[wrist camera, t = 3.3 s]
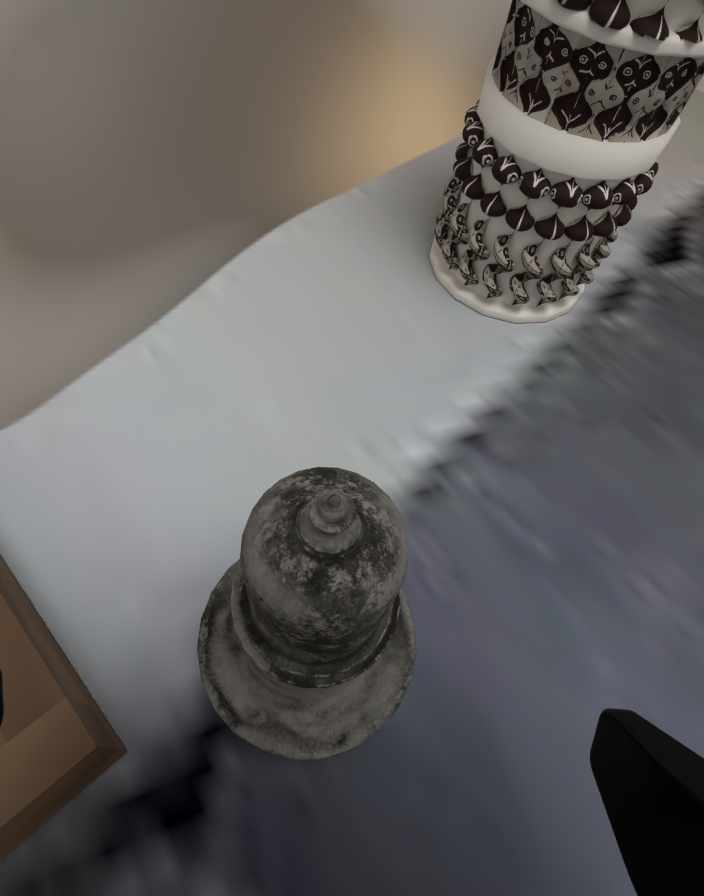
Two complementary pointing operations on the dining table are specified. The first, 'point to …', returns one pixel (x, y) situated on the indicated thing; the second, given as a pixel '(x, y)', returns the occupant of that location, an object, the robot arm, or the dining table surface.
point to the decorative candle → (562, 148)
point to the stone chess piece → (312, 618)
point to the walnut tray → (42, 722)
